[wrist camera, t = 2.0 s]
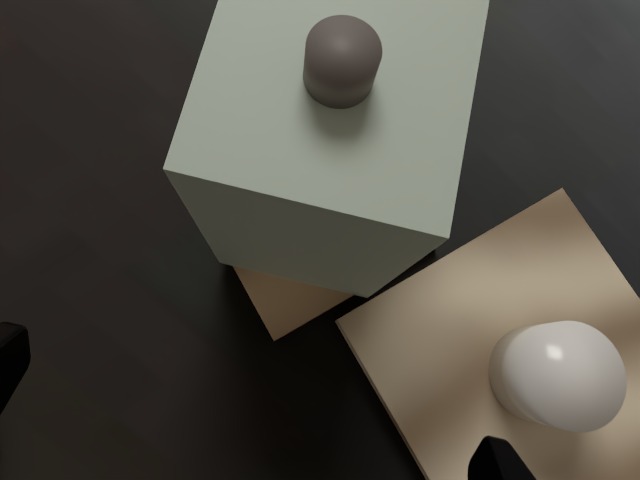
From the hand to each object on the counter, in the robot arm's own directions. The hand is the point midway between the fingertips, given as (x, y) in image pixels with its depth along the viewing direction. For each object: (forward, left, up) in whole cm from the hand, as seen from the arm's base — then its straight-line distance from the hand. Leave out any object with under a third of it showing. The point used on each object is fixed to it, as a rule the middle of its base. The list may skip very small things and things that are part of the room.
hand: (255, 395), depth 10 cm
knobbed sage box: (+6, -5, -13) cm, 15 cm away
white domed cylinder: (-6, -10, -12) cm, 17 cm away
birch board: (-6, -10, -13) cm, 18 cm away
